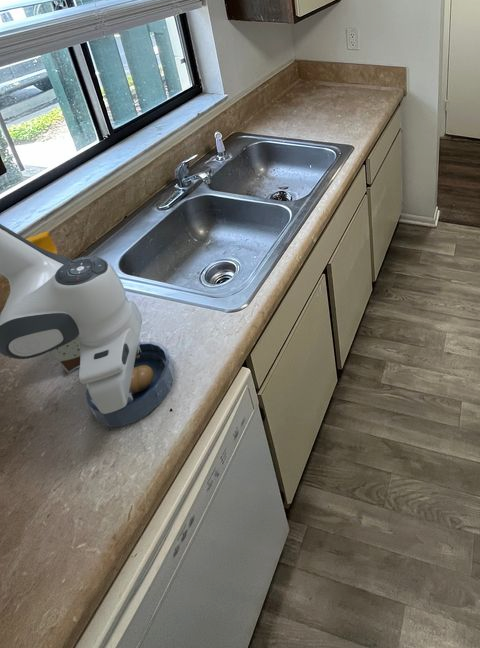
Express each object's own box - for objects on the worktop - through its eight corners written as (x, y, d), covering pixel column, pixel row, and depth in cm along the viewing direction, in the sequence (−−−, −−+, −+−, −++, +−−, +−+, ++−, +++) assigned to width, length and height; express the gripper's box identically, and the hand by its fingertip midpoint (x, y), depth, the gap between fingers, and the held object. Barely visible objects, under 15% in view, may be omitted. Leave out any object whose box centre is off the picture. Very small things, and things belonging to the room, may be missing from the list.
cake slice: (117, 323, 103) (104, 292, 98) (125, 340, 99) (111, 309, 94) (54, 358, 95) (36, 327, 90) (59, 378, 91) (41, 346, 87)
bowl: (86, 440, 80) (77, 425, 78) (103, 370, 92) (96, 355, 90) (171, 410, 85) (165, 395, 83) (177, 347, 97) (171, 332, 94)
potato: (111, 406, 85) (104, 392, 83) (116, 384, 89) (109, 370, 87) (154, 391, 87) (148, 377, 85) (157, 371, 91) (151, 356, 89)
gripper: (103, 293, 89) (124, 339, 95) (75, 388, 71) (103, 436, 77) (138, 284, 91) (156, 329, 97) (119, 374, 73) (143, 422, 79)
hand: (132, 377), depth 87 cm, fingers open, 8 cm apart
